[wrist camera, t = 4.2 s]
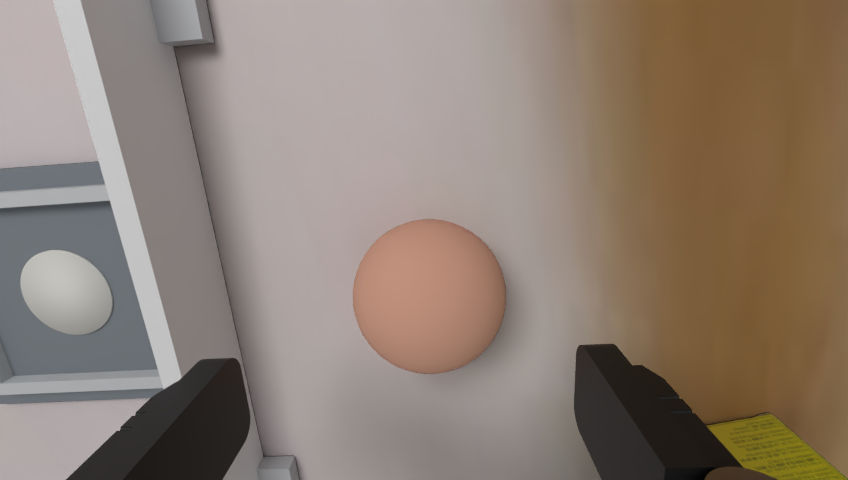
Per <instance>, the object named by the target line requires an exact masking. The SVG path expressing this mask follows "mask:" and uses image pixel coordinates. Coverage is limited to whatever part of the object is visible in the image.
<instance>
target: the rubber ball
mask: <svg viewBox="0 0 848 480" xmlns="http://www.w3.org/2000/svg"><path fill="white" fill-rule="evenodd" d="M505 305H506V289H505V282H504V278H503V274H502V271H501V268H500V266H499V263H498V261H497V260H496V258H495V256H494V255H493V253H492V252H491V250H490V249H489V248H488V246H487V245H486V244H485V243H484V242H483V241H482V240H481V239H480V238H479V237H477V236H476V235H475V234H473V233H472V232H470V231H469V230H467V229H465V228H463V227H461V226H459V225H456V224H454V223H451V222H447V221H442V220H434V219H425V220H417V221H412V222H408V223H405V224H402V225H400V226H398V227H395V228H393V229H392V230H390V231H388V232H387V233H385V234H384V235H383V236H381V237H380V238H379V239H378V240H377V241H376V242H375V243H374V244H373V245H372V246H371V247H370V249H369V250H368V251H367V253H366V254H365V256H364V257H363V259H362V261H361V263H360V265H359V268H358V271H357V273H356V277H355V281H354V288H353V306H354V312H355V316H356V319H357V322H358V325H359V328H360V330H361V332H362V334H363V336H364V337H365V339H366V340H367V342H368V343H369V344H370V346H371V347H372V348H373V349H374V350H375V351H376V352H377V353H378V354H379V355H380V356H381V357H382V358H384V359H385V360H387V361H388V362H390V363H391V364H393V365H395V366H397V367H399V368H402V369H405V370H408V371H412V372H416V373H424V374H435V373H443V372H448V371H452V370H455V369H458V368H460V367H462V366H464V365H466V364H468V363H469V362H471V361H473V360H474V359H475V358H476V357H478V356H479V355H480V354H481V353H482V352H483V351H484V350H485V349H486V348H487V347H488V346H489V345H490V343H491V342H492V340H493V339H494V338H495V336H496V334H497V332H498V330H499V328H500V325H501V323H502V320H503V317H504V311H505Z"/></svg>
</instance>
